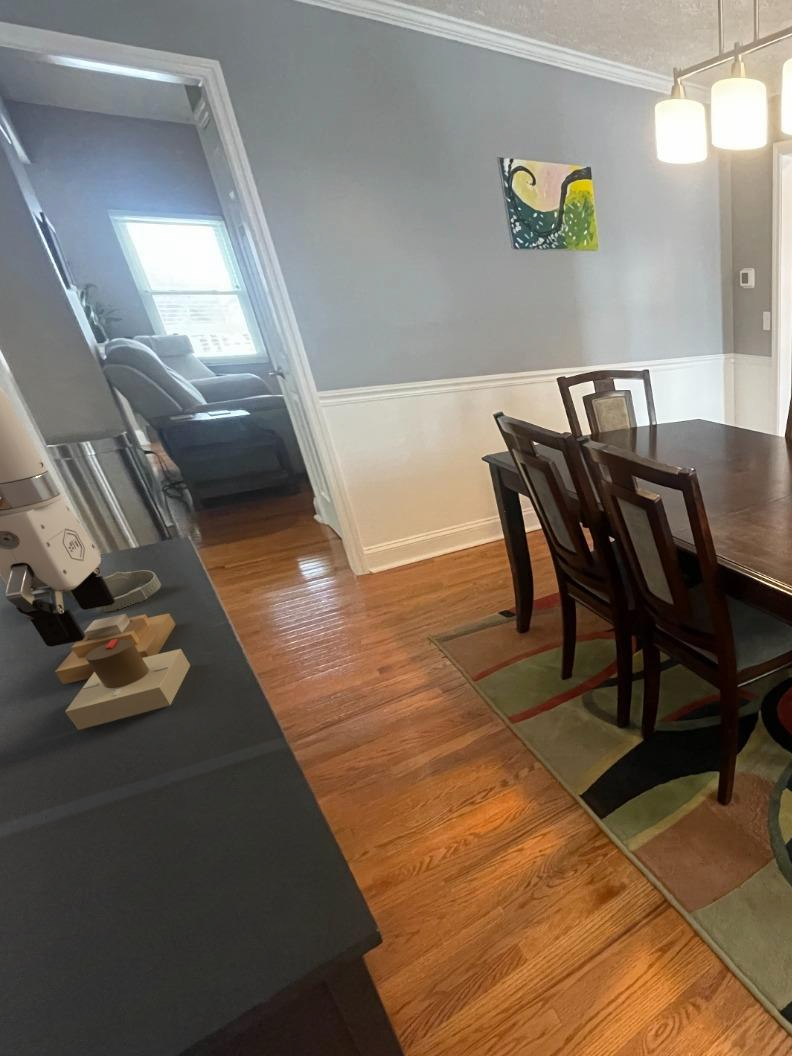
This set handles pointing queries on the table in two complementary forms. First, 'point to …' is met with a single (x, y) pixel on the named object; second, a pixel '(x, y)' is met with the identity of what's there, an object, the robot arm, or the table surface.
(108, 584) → the grey woven basket
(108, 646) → the volume knob
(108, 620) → the grey square frustum
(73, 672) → the block
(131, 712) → the volume panel
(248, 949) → the table surface
